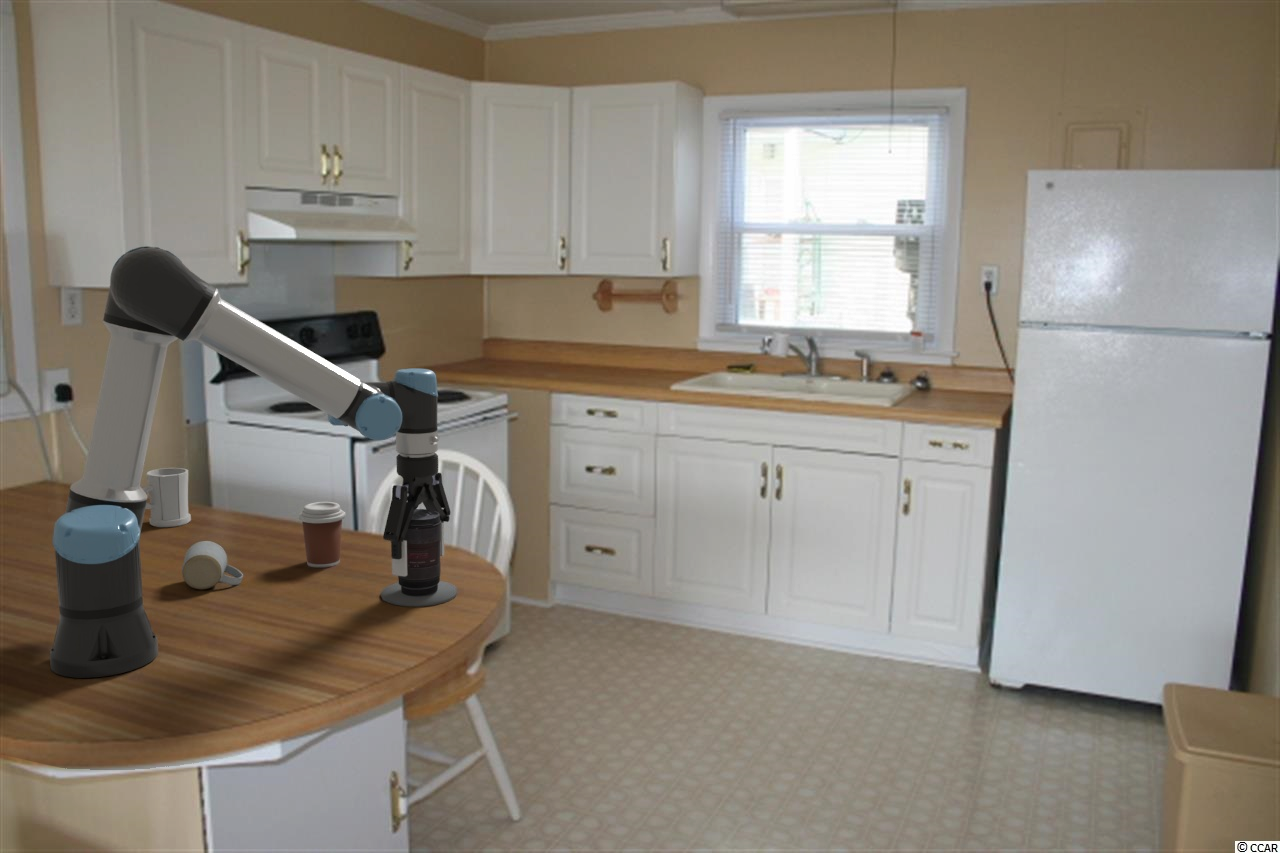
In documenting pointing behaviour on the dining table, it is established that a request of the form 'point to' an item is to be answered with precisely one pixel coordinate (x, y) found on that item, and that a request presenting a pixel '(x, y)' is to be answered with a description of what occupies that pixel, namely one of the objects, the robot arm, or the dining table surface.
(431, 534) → the camera lens
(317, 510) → the coffee cup
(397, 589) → the pad
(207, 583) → the ceramic mug
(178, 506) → the cup
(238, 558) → the dining table surface
